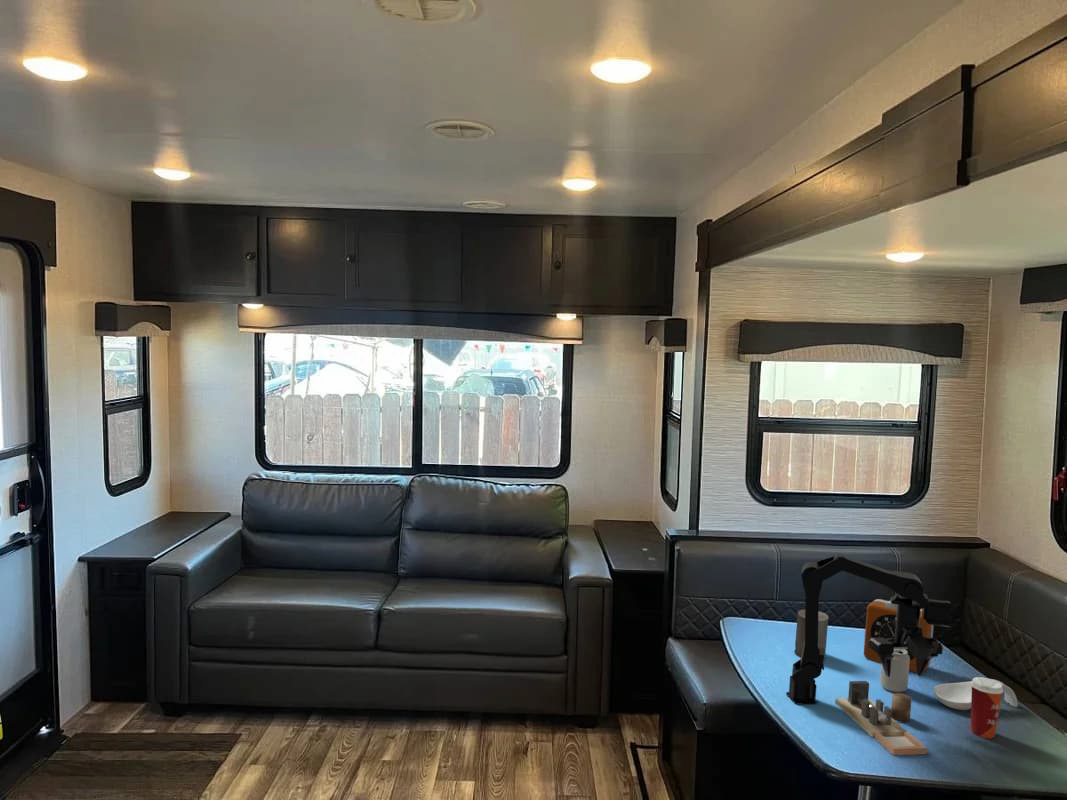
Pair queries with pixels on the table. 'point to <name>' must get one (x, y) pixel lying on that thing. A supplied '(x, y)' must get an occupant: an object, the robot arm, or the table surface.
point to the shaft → (863, 697)
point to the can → (897, 672)
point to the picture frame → (902, 744)
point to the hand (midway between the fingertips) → (903, 675)
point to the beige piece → (871, 717)
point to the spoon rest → (965, 695)
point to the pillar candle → (801, 632)
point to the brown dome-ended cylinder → (901, 707)
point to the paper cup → (985, 706)
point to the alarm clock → (888, 628)
